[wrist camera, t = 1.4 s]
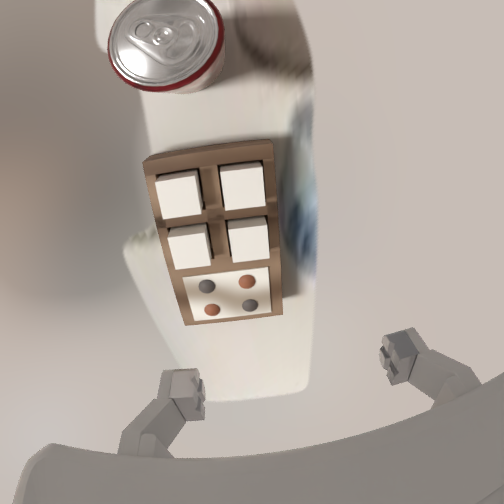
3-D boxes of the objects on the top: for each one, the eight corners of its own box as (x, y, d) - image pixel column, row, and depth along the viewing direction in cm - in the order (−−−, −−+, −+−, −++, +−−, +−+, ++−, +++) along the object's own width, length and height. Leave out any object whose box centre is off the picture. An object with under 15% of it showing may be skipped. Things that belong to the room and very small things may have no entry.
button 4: (220, 165, 27) (220, 172, 25) (259, 161, 27) (262, 167, 25) (225, 201, 29) (225, 210, 26) (262, 196, 29) (265, 205, 26)
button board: (149, 155, 28) (141, 162, 25) (268, 139, 28) (273, 144, 25) (187, 309, 38) (184, 327, 35) (279, 299, 38) (283, 316, 35)
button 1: (171, 226, 29) (167, 237, 27) (206, 221, 29) (204, 232, 27) (178, 256, 31) (175, 269, 29) (211, 252, 31) (210, 265, 29)
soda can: (239, 44, 23) (248, 11, 12) (200, 106, 26) (184, 111, 15) (174, 16, 21) (143, -28, 10) (137, 77, 23) (84, 69, 13)
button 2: (160, 174, 27) (154, 182, 24) (197, 168, 27) (194, 175, 25) (167, 209, 28) (163, 219, 26) (203, 204, 28) (201, 214, 26)
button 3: (227, 218, 29) (228, 229, 27) (263, 214, 30) (267, 225, 27) (232, 250, 31) (233, 262, 29) (266, 246, 31) (269, 258, 29)
